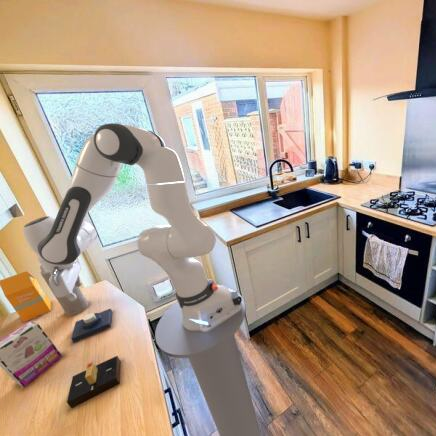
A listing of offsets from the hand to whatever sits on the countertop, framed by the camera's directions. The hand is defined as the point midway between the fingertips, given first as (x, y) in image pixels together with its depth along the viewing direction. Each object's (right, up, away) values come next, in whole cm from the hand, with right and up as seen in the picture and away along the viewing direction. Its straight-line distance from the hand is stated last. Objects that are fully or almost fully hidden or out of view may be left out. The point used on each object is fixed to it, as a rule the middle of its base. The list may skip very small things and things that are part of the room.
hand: (76, 292), depth 92 cm
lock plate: (+20, -24, -15) cm, 35 cm away
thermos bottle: (-15, -13, +18) cm, 27 cm away
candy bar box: (-4, -24, -9) cm, 26 cm away
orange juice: (-34, -15, +19) cm, 41 cm away
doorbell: (+1, -16, +7) cm, 17 cm away
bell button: (+1, -13, +5) cm, 14 cm away
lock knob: (+20, -21, -17) cm, 33 cm away
